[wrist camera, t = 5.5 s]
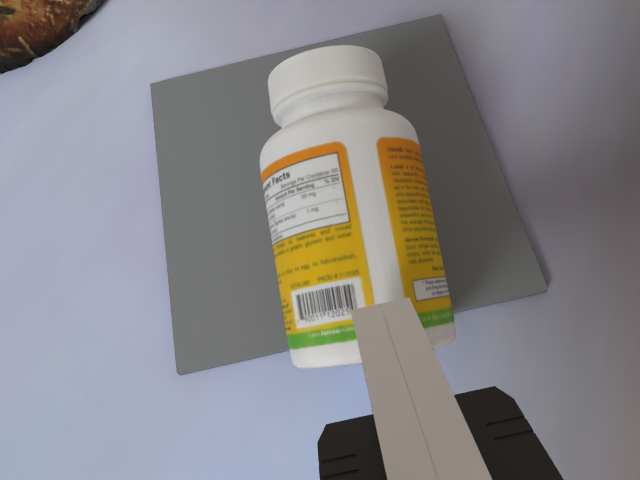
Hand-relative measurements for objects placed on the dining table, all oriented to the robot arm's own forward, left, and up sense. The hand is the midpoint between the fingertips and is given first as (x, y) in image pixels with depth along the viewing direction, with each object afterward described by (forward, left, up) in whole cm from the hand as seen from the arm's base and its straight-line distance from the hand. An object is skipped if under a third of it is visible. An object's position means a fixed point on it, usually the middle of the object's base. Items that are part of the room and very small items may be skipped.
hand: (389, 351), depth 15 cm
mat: (-9, +4, -7) cm, 12 cm away
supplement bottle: (-1, 0, -4) cm, 4 cm away
